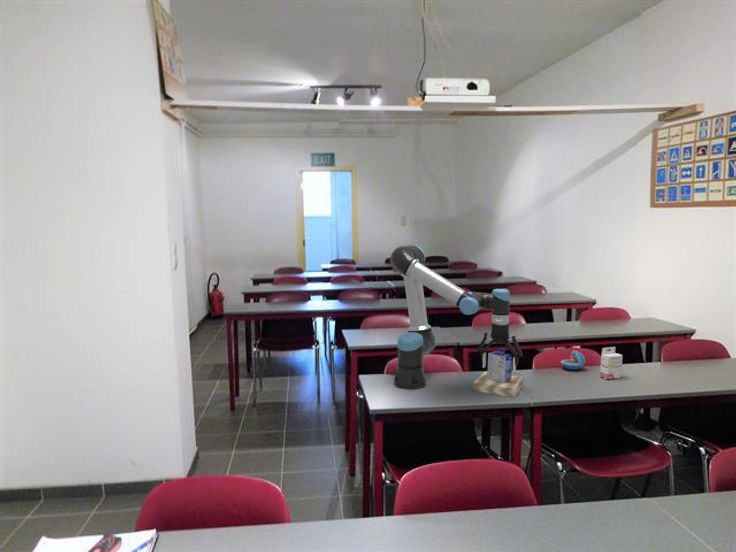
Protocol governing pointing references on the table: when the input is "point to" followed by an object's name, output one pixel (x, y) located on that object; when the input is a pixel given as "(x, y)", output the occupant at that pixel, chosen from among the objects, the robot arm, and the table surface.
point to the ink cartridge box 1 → (500, 366)
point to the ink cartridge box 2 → (610, 363)
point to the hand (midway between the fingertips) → (499, 369)
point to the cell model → (574, 361)
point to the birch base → (498, 386)
